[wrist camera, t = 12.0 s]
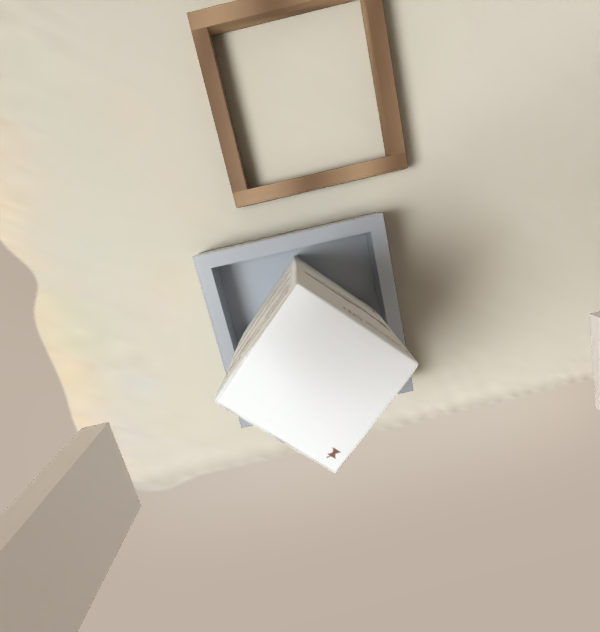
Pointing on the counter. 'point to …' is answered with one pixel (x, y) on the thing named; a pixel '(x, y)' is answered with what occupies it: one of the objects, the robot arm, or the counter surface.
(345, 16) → the counter surface
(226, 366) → the grey tray
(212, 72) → the walnut collar
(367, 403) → the supplement box
